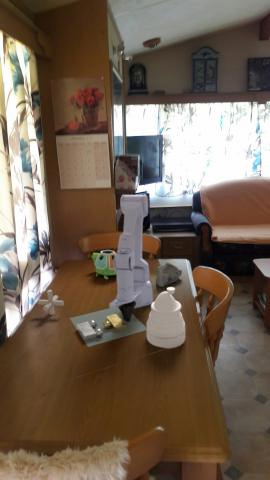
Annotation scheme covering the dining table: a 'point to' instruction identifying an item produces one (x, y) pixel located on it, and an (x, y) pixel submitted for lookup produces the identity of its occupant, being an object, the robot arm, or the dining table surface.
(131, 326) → the mat
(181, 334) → the honey pot
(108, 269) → the turtle holder
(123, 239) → the robot arm
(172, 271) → the mineral rock
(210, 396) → the dining table surface
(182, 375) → the dining table surface
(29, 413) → the dining table surface
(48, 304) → the pipe connector
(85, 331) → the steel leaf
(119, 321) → the tan knobbed block
